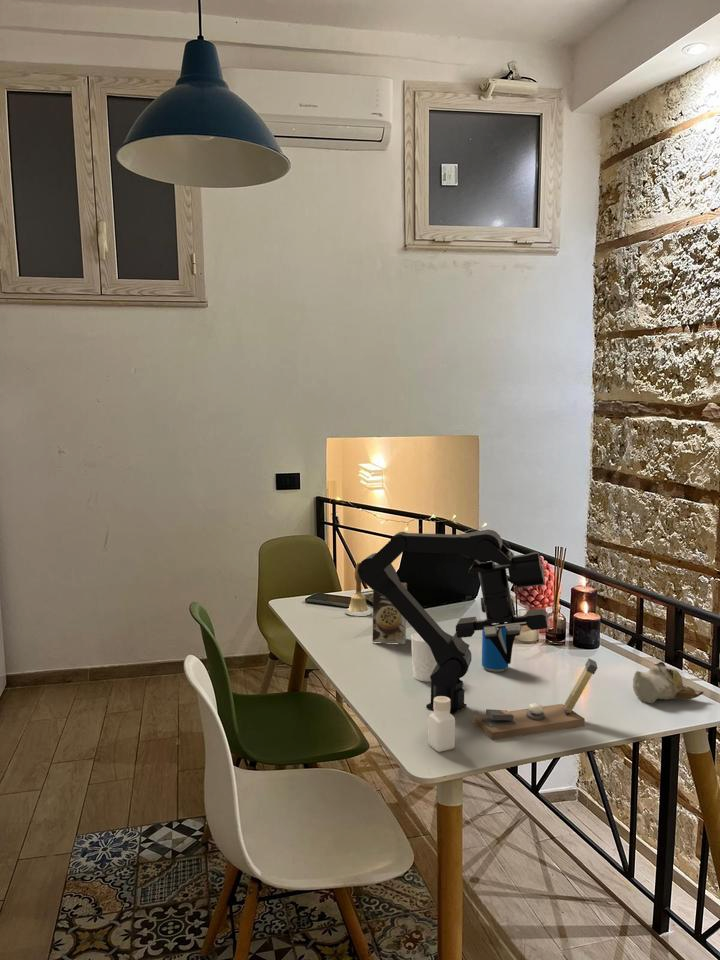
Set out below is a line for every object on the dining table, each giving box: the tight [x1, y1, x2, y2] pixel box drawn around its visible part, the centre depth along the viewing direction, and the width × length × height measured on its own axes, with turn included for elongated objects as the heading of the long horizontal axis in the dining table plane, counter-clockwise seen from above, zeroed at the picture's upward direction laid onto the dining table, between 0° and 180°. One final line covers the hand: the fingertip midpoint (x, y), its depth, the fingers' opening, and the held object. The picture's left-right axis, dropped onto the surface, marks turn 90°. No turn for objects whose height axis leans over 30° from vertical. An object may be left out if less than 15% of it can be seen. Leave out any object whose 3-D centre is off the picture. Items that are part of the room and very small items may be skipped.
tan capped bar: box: [563, 658, 598, 715], centre depth 154 cm, size 2×4×12 cm, turn 166°
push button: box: [528, 702, 543, 714], centre depth 152 cm, size 3×3×1 cm
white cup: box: [410, 632, 437, 683], centre depth 178 cm, size 8×8×10 cm
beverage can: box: [481, 618, 509, 673], centre depth 184 cm, size 6×6×12 cm
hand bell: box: [347, 562, 369, 612], centre depth 232 cm, size 8×8×16 cm
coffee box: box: [371, 582, 408, 644], centre depth 205 cm, size 9×6×16 cm
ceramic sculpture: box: [632, 661, 705, 704], centre depth 166 cm, size 11×9×15 cm
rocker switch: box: [484, 708, 514, 720], centre depth 149 cm, size 3×5×1 cm, turn 108°
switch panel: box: [473, 703, 586, 741], centre depth 152 cm, size 8×21×2 cm, turn 108°
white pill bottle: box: [427, 696, 456, 753], centre depth 141 cm, size 4×4×10 cm
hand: (508, 663), depth 156 cm, fingers closed
